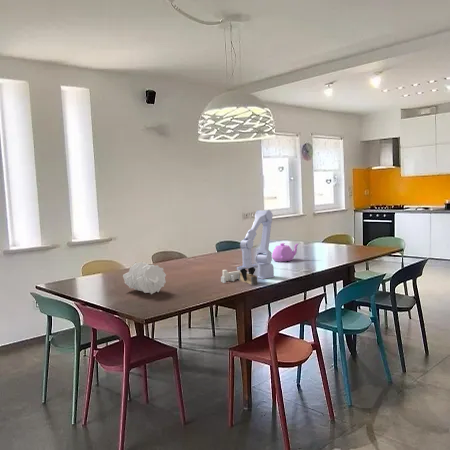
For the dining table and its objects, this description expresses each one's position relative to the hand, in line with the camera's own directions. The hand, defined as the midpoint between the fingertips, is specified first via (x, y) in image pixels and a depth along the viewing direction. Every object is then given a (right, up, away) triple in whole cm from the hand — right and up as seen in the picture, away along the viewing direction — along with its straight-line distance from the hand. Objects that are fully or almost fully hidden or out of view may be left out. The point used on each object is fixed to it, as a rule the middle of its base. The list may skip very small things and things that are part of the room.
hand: (248, 280), depth 294 cm
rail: (0, -2, 0) cm, 2 cm away
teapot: (+33, +6, +74) cm, 81 cm away
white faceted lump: (-62, -6, -12) cm, 64 cm away
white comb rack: (-8, -1, +9) cm, 12 cm away
